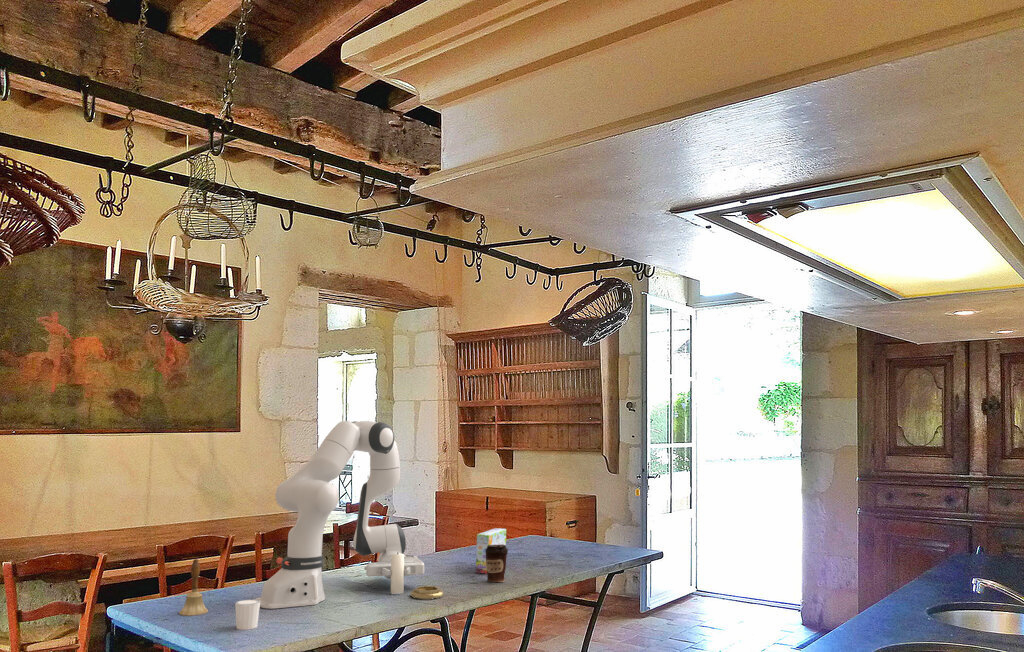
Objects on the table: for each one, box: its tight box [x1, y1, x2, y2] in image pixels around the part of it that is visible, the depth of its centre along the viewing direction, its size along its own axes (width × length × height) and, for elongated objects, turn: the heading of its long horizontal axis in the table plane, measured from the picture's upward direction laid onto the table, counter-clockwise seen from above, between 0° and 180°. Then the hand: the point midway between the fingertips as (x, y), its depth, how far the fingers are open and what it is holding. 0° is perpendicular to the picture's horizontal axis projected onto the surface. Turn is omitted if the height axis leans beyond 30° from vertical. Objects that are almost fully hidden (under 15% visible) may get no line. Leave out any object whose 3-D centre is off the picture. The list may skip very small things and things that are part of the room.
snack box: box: [475, 527, 507, 575], centre depth 322 cm, size 21×6×15 cm, turn 161°
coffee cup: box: [485, 544, 509, 583], centre depth 297 cm, size 9×8×13 cm
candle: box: [390, 552, 405, 594], centre depth 275 cm, size 4×4×14 cm
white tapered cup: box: [234, 599, 261, 631], centre depth 229 cm, size 7×7×7 cm
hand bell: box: [178, 558, 209, 617], centre depth 246 cm, size 8×8×16 cm
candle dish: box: [410, 585, 445, 600], centre depth 270 cm, size 11×11×2 cm
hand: (397, 572), depth 275 cm, fingers open, 5 cm apart
